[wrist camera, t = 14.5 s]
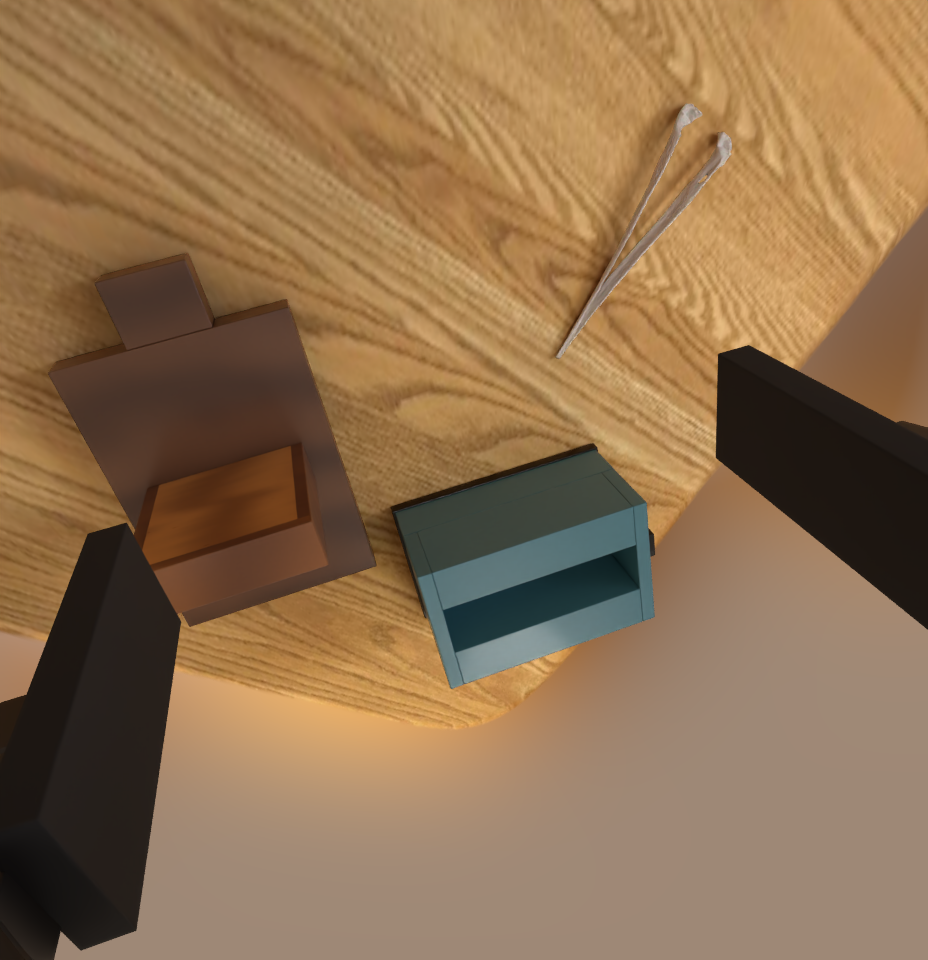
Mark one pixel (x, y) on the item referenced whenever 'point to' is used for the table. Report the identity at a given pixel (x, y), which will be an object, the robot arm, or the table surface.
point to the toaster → (528, 561)
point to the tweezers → (662, 224)
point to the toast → (233, 528)
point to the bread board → (206, 406)
